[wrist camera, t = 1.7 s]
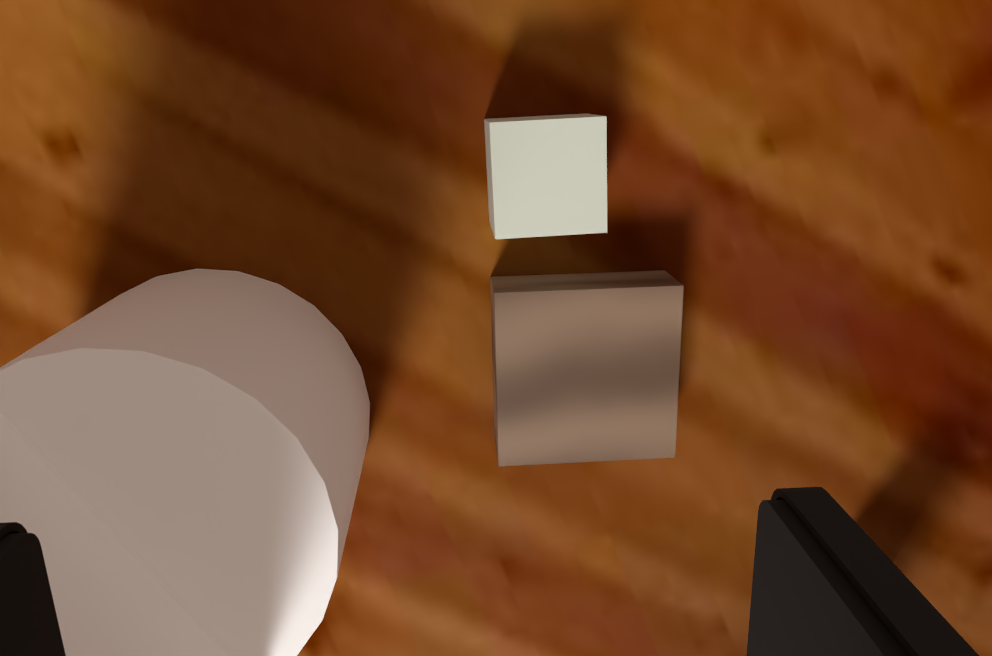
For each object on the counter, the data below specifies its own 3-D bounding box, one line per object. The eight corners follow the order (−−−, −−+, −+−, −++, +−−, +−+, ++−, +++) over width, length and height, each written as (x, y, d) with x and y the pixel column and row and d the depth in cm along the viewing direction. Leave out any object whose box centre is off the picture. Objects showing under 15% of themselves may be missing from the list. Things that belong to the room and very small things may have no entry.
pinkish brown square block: (490, 275, 44) (494, 293, 40) (663, 268, 44) (683, 285, 40) (494, 435, 47) (498, 466, 43) (656, 427, 47) (674, 457, 43)
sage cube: (484, 118, 41) (489, 122, 36) (586, 113, 41) (606, 116, 36) (489, 221, 42) (495, 239, 37) (587, 215, 43) (607, 232, 37)
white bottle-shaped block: (199, 590, 48) (-111, 1214, 21) (0, 376, 43) (-725, 834, 16) (427, 447, 46) (401, 934, 19) (246, 207, 41) (-123, 414, 15)
